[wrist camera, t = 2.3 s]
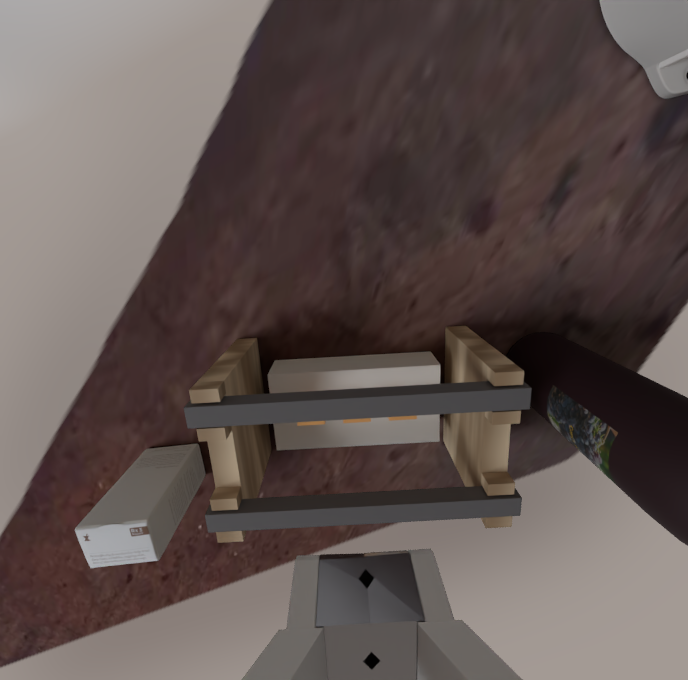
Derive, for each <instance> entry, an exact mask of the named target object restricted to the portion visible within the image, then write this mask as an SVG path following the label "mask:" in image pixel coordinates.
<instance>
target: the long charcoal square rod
mask: <svg viewBox="0 0 688 680" xmlns="http://www.w3.org/2000/svg"><path fill="white" fill-rule="evenodd" d="M531 390H532V388H531V387H530V386H529V385H527V384H526V383H525V382H524V381H523V385H508V386H493V385H492V384H491V382H490V381H479V382H462V383H444V384H427V385H409V386H392V387H375V388H357V389H340V390H322V391H305V392H287V393H270V394H252V395H235V396H224V397H223V399H222V400H221V401H220V402H210V403H191V400H190V401H189V402H188V404H187V405H186V406H185V407H184V412H185V417H186V422H187V427H188V428H205V427H223V426H241V425H258V424H276V423H294V422H311V421H329V420H347V419H364V418H382V417H400V416H417V415H435V414H453V413H471V412H488V411H506V410H524V409H530V401H531Z"/></svg>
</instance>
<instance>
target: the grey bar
mask: <svg viewBox="0 0 688 680" xmlns="http://www.w3.org/2000/svg"><path fill="white" fill-rule="evenodd" d="M521 501H522V498H521V496H520V495H519V493H518V492H517V490H516V489H515V490H514V494H512V495H494V496H488V495H487V494H486V492H485V490H484V488H483V486H471V487H453V488H435V489H417V490H399V491H380V492H362V493H344V494H326V495H308V496H289V497H271V498H253V499H242V500H241V503H240V506H239V508H238V510H220V511H212V509H211V504H210V506H209V508H208V510H207V512H206V514H205V518H206V523H207V528H208V532H227V531H245V530H263V529H282V528H300V527H319V526H337V525H356V524H374V523H393V522H411V521H427V520H428V521H429V520H447V519H466V518H485V517H503V516H520V512H521Z"/></svg>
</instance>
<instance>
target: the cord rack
mask: <svg viewBox="0 0 688 680" xmlns="http://www.w3.org/2000/svg"><path fill="white" fill-rule="evenodd" d="M479 381H490V382H491V384H492V385H493V386H508V385H523V381H524V370H522V369H521V368H520V367H518V366H517V365H516V364H515V363H513V362H512V361H511V360H509V359H508V358H507V357H505V356H504V355H503V354H502V353H500V352H499V351H498V350H496V349H495V348H494V347H492V346H491V345H490V344H489V343H487V342H486V341H485V340H483V339H482V338H481V337H480V336H478V335H477V334H476V333H474V332H473V331H472V330H470V329H469V328H468V327H467V326H452V327H446V330H445V383H462V382H479ZM189 393H190V398H191V403H210V402H220V401H221V400H222V399H223V397H224V396H235V395H252V394H264V387H263V380H262V372H261V364H260V356H259V349H258V341H257V338H247V339H237V340H236V341H235V342H234V343H233V344H232V345H231V346H230V347H229V348H228V350H227V351H226V352H225V353H224V354H223V355H222V356H221V357H220V358H219V359H218V360H217V361H216V362H215V363H214V364H213V365H212V366H211V368H210V369H209V370H208V371H207V372H206V373H205V374H204V375H203V376H202V377H201V378H200V379H199V380H198V381H197V382H196V383H195V385H194V386H193V387H192V388H191V389H190V390H189ZM520 418H521V410H506V411H488V412H471V413H453V414H444V437H443V441H444V443H445V445H446V447H447V449H448V451H449V453H450V456H451V458H452V460H453V462H454V464H455V466H456V468H457V470H458V472H459V474H460V476H461V478H462V480H463V482H464V484H465V486H466V487H471V486H483V488H484V490H485V492H486V494H487V495H488V496H494V495H512V494H514V490H515V482H514V481H513V479H512V478H511V477H510V475H509V474H508V472H507V467H508V453H509V440H510V427H511V424H520ZM196 430H197V435H198V440H199V442H200V441H207V442H208V448H209V453H210V459H211V464H212V470H213V475H214V481H215V486H216V488H215V490H214V492H213V494H212V497H211V499H210V503H211V509H212V511H220V510H238V508H239V506H240V503H241V500H242V499H253V498H257V496H258V493H259V489H260V486H261V483H262V480H263V477H264V473H265V470H266V467H267V464H268V461H269V457H270V454H271V451H272V450H271V442H270V434H269V426H268V424H258V425H241V426H223V427H205V428H197V429H196ZM481 519H482V521H483V523H484V525H485V528H498V527H511V526H512V516H503V517H485V518H481ZM246 531H247V530H245V531H227V532H216V535H217V540H218V543H220V542H238V541H244V537H245V534H246Z"/></svg>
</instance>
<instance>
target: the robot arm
mask: <svg viewBox="0 0 688 680" xmlns="http://www.w3.org/2000/svg"><path fill="white" fill-rule="evenodd" d="M600 5H601V10H602V13H603V16H604V20H605V22H606V25H607V27H608V29H609V31H610V33H611V34H612V36H613V38H614V39H615V40H616V42H617V43H618V44H619V46H620V47H621V48H622V49H623V50H624V51H625V52H626V53H628V54H629V55H630V56H631V57H633V58H634V59H635V60H636V61H638V62H639V63H640V64H641V65H642V66H643V68H644V69H645V71H646V73H647V76H648V78H649V80H650V83H651V85H652V87H653V89H654V90H655V92H656V93H657V94H658V95H659V96H660V97H661V98H665V99H668V98H673V97H677V96H680V95H684V94H688V79H687V78H686V74H687V73H688V0H600ZM242 680H522V679H521V678H520V677H519V676H518V675H517V674H516V673H515V672H514V671H513V670H512V669H511V668H510V667H509V666H508V665H507V664H506V663H505V662H504V661H503V660H502V659H501V658H500V657H499V656H498V655H497V654H496V653H495V652H494V651H493V650H492V649H491V648H490V647H489V646H488V645H487V644H486V643H485V642H484V641H483V640H482V639H481V638H480V637H479V636H478V635H476V634H475V632H474V631H473V630H471V629H470V628H469V627H468V626H467V625H466V624H465V623H464V622H463V621H462V620H454V617H453V614H452V611H451V608H450V604H449V601H448V598H447V595H446V591H445V588H444V585H443V582H442V579H441V576H440V572H439V569H438V566H437V563H436V560H435V556H434V553H433V551H432V550H431V549H419V550H408V551H406V550H405V551H389V552H373V553H364V554H327V555H308V556H297V558H296V561H295V565H294V573H293V582H292V590H291V597H290V604H289V613H288V620H287V628H286V629H285V630H279V631H278V632H277V633H276V635H275V636H274V637H273V639H272V640H271V641H270V643H269V644H268V645H267V647H266V648H265V649H264V651H263V652H262V653H261V655H260V656H259V657H258V659H257V660H256V661H255V663H254V664H253V665H252V667H251V668H250V669H249V671H248V672H247V673H246V675H245V676H244V677H243V679H242Z"/></svg>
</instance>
